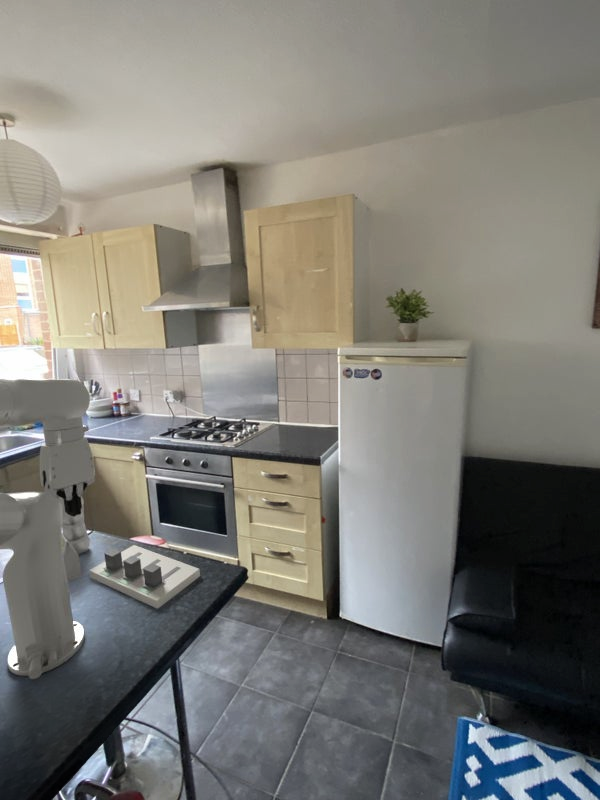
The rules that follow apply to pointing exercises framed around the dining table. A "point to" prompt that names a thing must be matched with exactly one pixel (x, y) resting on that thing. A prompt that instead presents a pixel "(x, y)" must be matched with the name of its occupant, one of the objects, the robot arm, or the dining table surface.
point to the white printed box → (70, 560)
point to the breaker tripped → (113, 560)
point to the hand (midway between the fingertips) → (74, 514)
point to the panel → (171, 570)
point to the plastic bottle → (75, 529)
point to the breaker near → (152, 576)
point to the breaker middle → (132, 568)
